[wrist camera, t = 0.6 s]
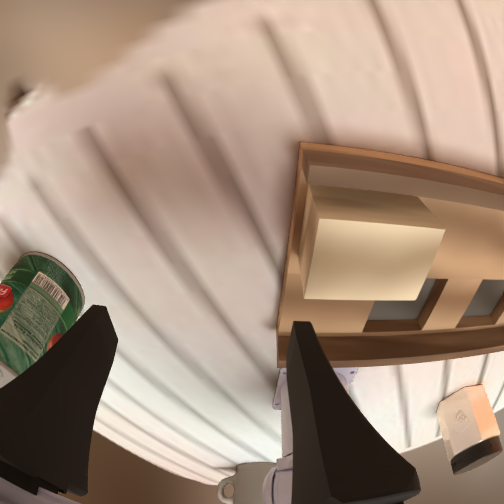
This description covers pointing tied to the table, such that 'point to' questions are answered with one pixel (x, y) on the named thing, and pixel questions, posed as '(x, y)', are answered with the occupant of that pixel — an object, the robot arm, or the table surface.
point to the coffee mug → (246, 483)
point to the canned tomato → (35, 311)
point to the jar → (468, 429)
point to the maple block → (365, 244)
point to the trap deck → (438, 278)
